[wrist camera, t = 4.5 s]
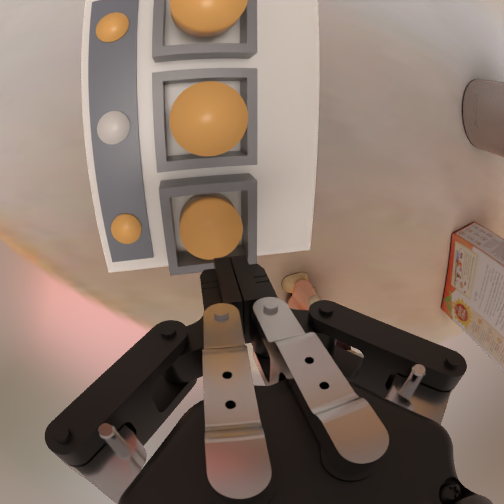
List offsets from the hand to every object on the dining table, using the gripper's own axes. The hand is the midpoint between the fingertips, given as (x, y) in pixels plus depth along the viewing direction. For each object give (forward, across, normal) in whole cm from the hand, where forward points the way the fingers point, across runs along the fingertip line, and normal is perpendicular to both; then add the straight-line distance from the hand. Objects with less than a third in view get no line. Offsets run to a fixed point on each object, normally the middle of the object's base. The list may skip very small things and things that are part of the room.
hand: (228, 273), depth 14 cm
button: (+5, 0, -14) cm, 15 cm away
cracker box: (+11, -34, +11) cm, 38 cm away
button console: (+10, 0, -7) cm, 13 cm away
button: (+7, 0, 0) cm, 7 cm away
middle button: (+5, 0, -7) cm, 9 cm away
